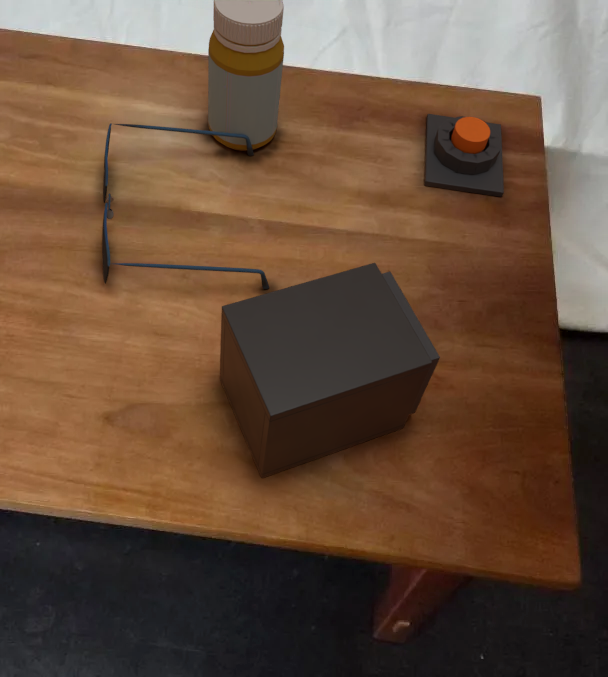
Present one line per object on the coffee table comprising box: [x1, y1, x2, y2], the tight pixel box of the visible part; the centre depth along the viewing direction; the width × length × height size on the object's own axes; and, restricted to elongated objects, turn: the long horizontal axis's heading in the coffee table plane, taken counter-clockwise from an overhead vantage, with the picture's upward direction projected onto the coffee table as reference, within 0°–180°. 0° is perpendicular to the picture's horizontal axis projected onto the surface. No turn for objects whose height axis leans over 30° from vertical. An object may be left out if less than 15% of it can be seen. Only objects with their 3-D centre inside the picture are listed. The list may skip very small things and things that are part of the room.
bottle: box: [207, 0, 285, 152], centre depth 79 cm, size 7×7×15 cm
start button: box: [451, 116, 490, 154], centre depth 84 cm, size 4×4×2 cm
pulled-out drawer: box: [382, 271, 441, 416], centre depth 65 cm, size 13×8×9 cm, turn 113°
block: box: [423, 113, 505, 198], centre depth 85 cm, size 10×8×2 cm
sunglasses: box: [101, 123, 270, 290], centre depth 76 cm, size 17×15×5 cm
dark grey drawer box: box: [219, 262, 432, 479], centre depth 64 cm, size 13×10×11 cm
